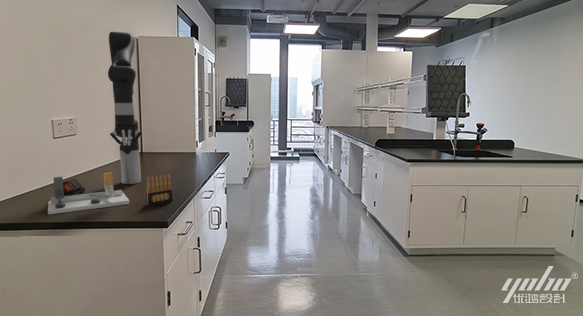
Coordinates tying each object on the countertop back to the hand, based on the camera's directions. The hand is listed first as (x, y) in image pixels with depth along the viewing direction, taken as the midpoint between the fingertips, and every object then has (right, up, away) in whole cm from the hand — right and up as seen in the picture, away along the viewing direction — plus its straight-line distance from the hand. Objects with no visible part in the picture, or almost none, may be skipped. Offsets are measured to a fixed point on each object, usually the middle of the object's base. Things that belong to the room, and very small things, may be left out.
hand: (127, 153), depth 160 cm
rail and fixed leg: (-12, -19, -9) cm, 24 cm away
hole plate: (-11, -21, -9) cm, 25 cm away
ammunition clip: (+17, -21, -7) cm, 27 cm away
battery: (-27, -19, +6) cm, 33 cm away
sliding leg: (-5, -17, -5) cm, 18 cm away
